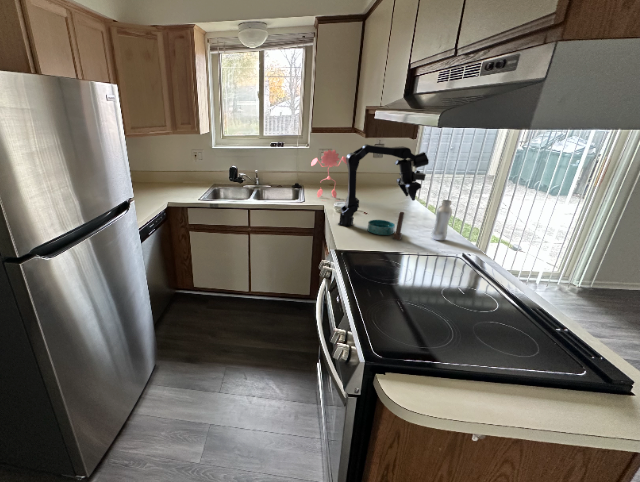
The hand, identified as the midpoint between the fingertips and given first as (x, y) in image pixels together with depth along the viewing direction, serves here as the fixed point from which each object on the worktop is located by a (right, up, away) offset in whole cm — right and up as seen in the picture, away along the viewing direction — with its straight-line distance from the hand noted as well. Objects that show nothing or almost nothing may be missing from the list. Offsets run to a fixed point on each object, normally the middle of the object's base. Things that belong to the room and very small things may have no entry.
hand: (410, 198), depth 172 cm
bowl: (-17, -18, -1) cm, 25 cm away
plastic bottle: (+7, -22, -12) cm, 26 cm away
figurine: (-29, +7, +62) cm, 68 cm away
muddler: (-13, -22, -11) cm, 27 cm away
